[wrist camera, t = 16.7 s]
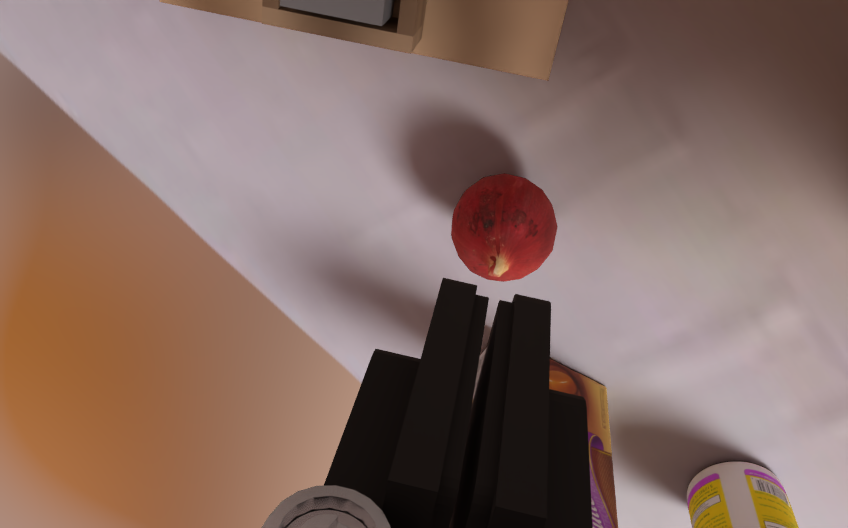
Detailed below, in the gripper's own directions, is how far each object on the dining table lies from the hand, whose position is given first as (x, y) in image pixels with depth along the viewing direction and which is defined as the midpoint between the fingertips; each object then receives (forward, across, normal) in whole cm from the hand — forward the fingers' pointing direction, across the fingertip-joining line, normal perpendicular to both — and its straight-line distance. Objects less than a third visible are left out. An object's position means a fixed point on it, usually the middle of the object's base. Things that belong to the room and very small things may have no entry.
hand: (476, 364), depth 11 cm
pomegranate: (+29, -1, +11) cm, 31 cm away
